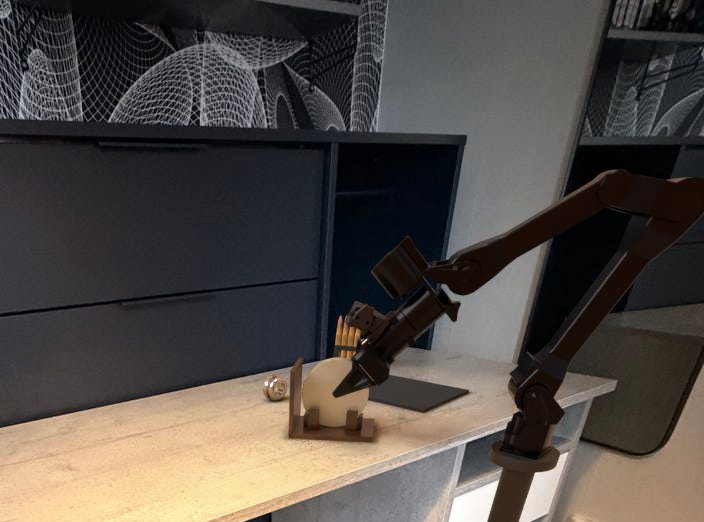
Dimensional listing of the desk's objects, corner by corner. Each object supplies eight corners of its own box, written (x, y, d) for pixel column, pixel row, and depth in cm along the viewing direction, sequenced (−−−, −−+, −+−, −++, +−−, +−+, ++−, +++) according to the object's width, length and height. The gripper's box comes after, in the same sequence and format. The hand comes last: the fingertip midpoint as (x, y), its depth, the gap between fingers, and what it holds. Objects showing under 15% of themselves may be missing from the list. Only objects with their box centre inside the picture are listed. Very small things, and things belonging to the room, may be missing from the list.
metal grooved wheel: (279, 396, 116) (279, 373, 113) (288, 398, 114) (288, 375, 111) (262, 400, 114) (262, 377, 111) (271, 403, 112) (272, 380, 109)
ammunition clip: (332, 365, 137) (335, 315, 130) (335, 363, 138) (338, 314, 131) (369, 369, 131) (375, 318, 124) (372, 367, 132) (378, 316, 125)
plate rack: (374, 423, 99) (382, 358, 92) (372, 442, 91) (381, 372, 84) (296, 420, 102) (298, 357, 95) (288, 438, 95) (290, 371, 88)
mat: (468, 392, 111) (469, 389, 111) (423, 412, 102) (423, 409, 102) (377, 374, 127) (377, 372, 126) (330, 390, 118) (330, 388, 117)
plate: (365, 425, 95) (373, 357, 88) (364, 428, 94) (372, 359, 87) (301, 422, 98) (304, 356, 91) (300, 425, 97) (303, 359, 90)
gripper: (380, 275, 88) (312, 343, 97) (377, 289, 74) (298, 367, 83) (419, 325, 91) (350, 386, 100) (424, 348, 76) (343, 417, 85)
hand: (336, 388), depth 92 cm, fingers open, 9 cm apart
